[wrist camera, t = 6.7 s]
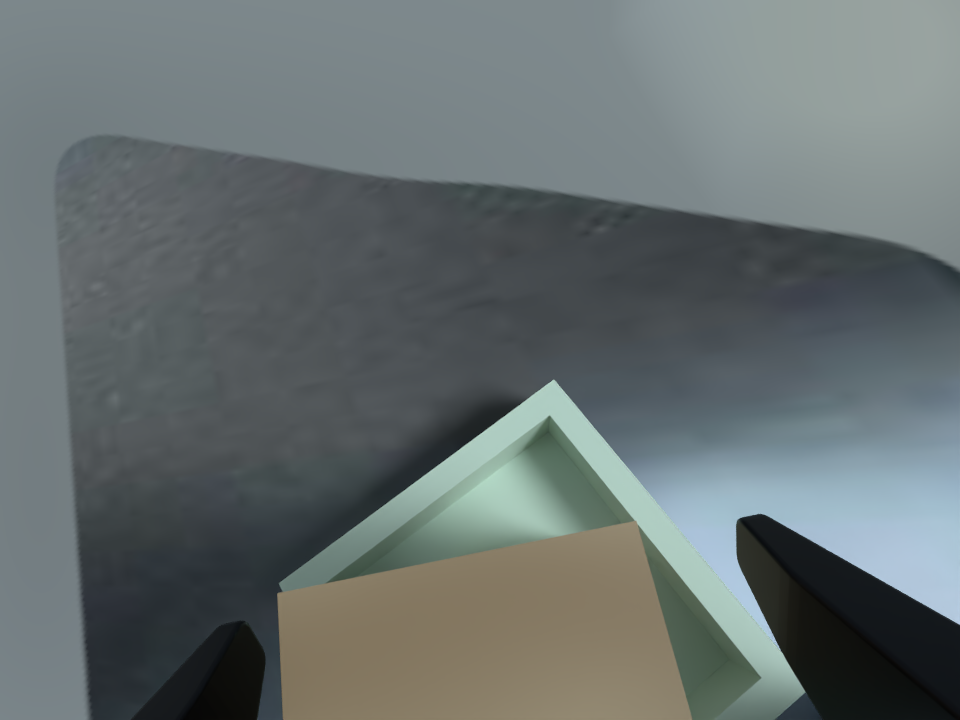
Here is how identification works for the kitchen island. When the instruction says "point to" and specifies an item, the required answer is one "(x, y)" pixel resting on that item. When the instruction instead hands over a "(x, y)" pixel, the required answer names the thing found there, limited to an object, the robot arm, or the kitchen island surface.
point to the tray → (561, 511)
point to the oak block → (487, 638)
